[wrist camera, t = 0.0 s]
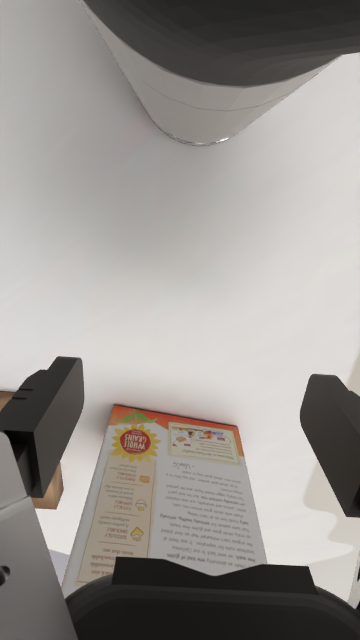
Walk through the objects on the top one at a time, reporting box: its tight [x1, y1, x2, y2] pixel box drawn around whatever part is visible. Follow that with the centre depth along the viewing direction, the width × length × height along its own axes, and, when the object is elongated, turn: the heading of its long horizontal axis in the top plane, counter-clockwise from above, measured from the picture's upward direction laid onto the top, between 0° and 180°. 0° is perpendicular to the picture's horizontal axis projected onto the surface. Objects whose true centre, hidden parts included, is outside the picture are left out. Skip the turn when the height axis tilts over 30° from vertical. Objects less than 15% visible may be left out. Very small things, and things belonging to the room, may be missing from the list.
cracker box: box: [61, 405, 268, 599], centre depth 26 cm, size 14×6×21 cm, turn 77°
